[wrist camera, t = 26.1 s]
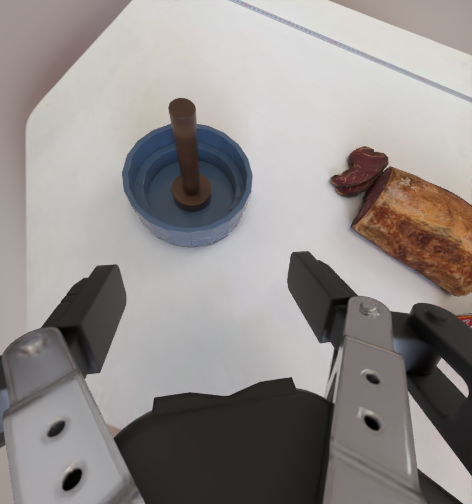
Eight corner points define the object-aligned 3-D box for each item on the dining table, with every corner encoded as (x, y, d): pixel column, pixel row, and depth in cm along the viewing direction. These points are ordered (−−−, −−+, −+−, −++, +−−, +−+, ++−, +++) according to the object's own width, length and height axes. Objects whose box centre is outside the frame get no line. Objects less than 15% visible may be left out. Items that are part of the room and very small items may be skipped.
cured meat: (350, 141, 43) (375, 108, 36) (473, 210, 41) (522, 189, 35) (309, 214, 37) (331, 191, 31) (450, 297, 36) (503, 292, 29)
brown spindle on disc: (192, 219, 34) (182, 144, 20) (165, 195, 35) (136, 105, 20) (218, 195, 36) (225, 110, 21) (192, 172, 36) (182, 75, 22)
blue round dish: (193, 271, 32) (190, 259, 27) (112, 197, 34) (93, 171, 28) (265, 197, 37) (276, 174, 31) (191, 136, 39) (188, 104, 33)
